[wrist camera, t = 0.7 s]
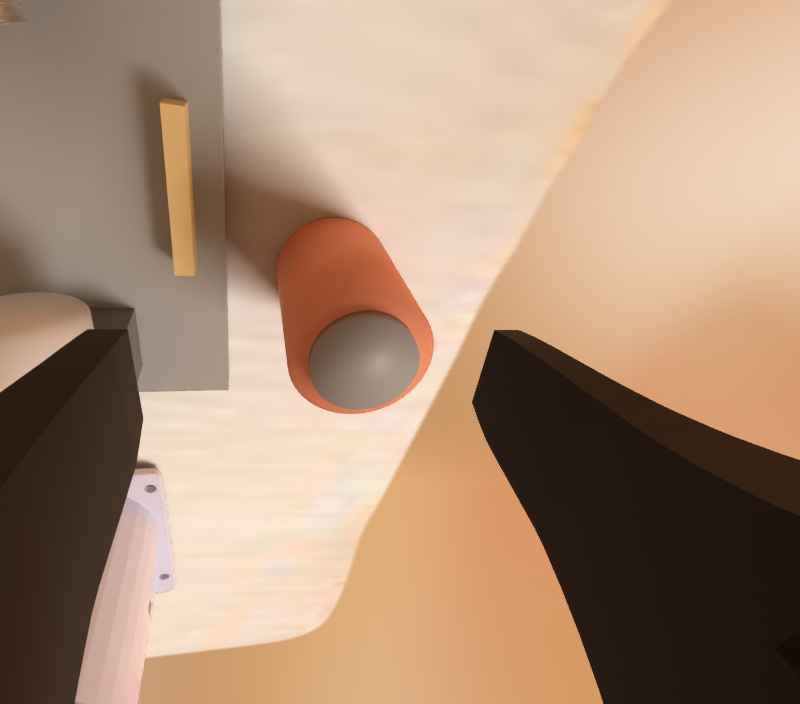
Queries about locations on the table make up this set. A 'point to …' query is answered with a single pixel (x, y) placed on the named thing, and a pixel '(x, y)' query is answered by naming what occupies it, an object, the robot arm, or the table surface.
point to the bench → (115, 186)
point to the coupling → (349, 319)
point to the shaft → (12, 13)
